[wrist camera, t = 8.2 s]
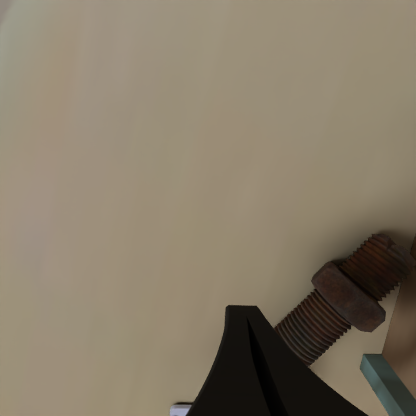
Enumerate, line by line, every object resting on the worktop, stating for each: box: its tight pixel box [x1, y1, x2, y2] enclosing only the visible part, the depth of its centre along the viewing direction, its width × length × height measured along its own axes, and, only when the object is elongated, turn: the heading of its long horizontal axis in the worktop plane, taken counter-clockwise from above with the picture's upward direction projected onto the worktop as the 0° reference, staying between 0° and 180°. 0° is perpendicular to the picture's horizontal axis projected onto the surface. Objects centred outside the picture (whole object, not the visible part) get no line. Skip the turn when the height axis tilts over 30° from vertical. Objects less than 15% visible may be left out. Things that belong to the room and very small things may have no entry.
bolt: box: [274, 234, 416, 367], centre depth 19 cm, size 6×5×15 cm
